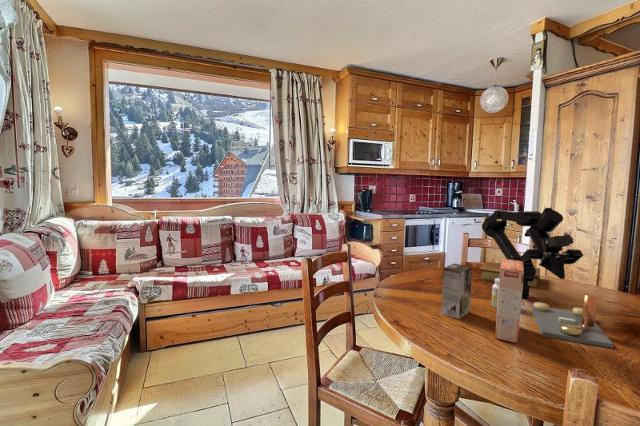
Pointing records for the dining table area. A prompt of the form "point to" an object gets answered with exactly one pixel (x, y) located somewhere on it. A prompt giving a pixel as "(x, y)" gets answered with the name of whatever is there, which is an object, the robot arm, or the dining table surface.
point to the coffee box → (456, 290)
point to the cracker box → (509, 300)
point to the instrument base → (554, 318)
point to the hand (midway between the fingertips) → (563, 278)
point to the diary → (493, 271)
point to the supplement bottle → (495, 292)
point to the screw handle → (583, 317)
